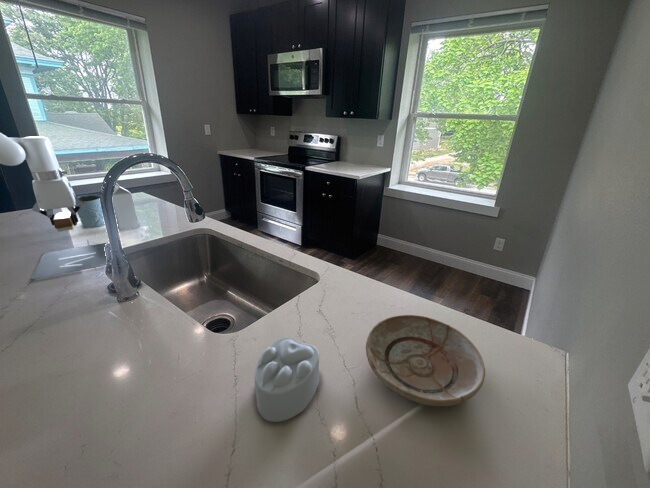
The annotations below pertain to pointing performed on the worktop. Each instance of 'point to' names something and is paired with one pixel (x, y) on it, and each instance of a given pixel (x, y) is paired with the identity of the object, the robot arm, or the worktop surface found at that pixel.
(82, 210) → the blue-grey cup
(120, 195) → the milk carton
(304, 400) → the lumpy-topped squat cylinder
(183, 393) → the worktop surface
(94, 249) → the chalkboard
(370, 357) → the ceramic bowl
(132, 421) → the worktop surface
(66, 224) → the eraser
